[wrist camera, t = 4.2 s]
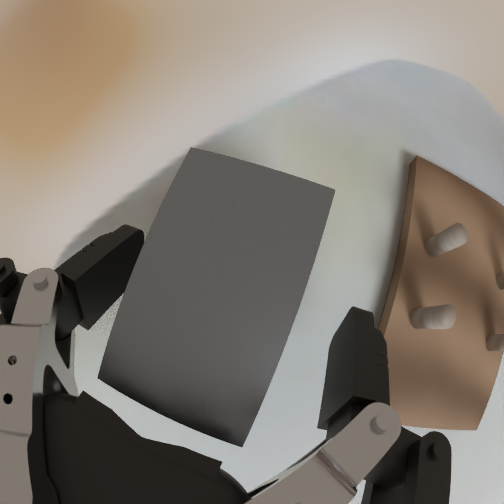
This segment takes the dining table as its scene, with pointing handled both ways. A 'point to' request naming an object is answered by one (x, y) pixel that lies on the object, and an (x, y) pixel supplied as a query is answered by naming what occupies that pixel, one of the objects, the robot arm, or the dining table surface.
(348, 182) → the dining table surface
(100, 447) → the robot arm
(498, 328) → the wooden peg stand
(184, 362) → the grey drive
